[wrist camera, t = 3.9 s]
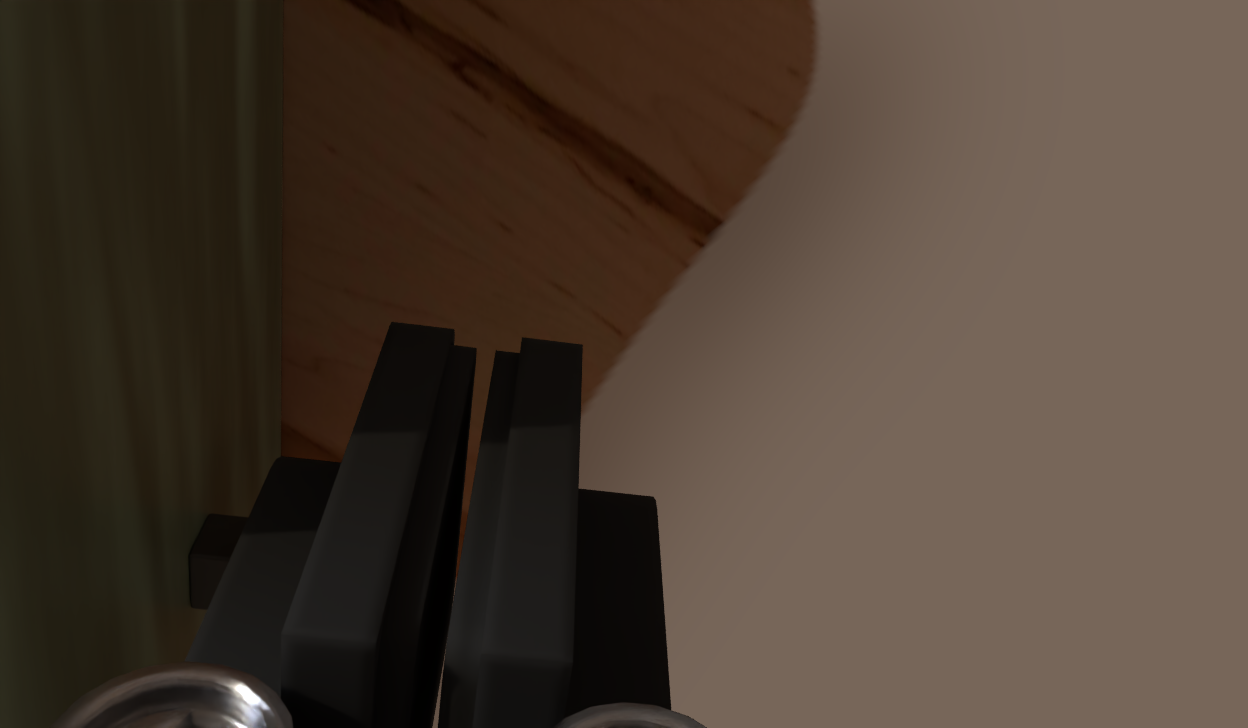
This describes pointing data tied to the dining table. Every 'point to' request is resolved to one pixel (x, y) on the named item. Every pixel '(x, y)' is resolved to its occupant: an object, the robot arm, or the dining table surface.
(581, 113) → the dining table surface
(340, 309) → the dining table surface
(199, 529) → the cupboard door
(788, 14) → the dining table surface
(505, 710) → the robot arm
